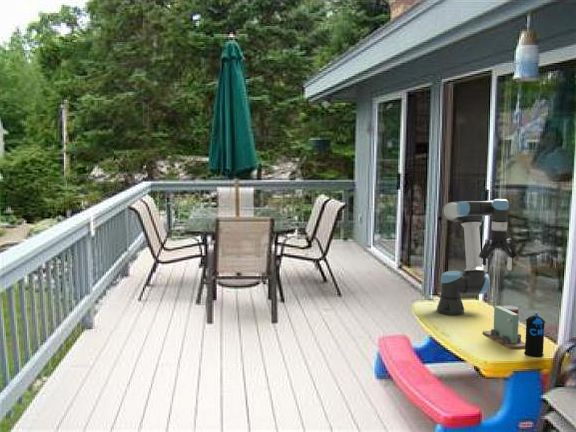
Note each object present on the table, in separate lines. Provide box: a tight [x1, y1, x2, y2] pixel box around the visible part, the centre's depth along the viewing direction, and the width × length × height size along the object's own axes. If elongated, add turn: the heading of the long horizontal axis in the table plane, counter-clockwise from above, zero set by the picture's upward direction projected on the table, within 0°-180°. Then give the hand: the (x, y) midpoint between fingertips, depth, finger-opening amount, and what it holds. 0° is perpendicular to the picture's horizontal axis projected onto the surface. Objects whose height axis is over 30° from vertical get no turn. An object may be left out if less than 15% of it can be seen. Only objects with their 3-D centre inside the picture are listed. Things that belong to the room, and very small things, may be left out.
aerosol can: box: [523, 311, 546, 358], centre depth 269 cm, size 8×8×20 cm
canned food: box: [501, 304, 519, 315], centre depth 309 cm, size 8×8×11 cm
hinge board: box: [482, 328, 525, 350], centre depth 289 cm, size 24×10×4 cm, turn 12°
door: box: [493, 305, 520, 344], centre depth 288 cm, size 16×4×14 cm, turn 12°
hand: (497, 270), depth 301 cm, fingers open, 13 cm apart
